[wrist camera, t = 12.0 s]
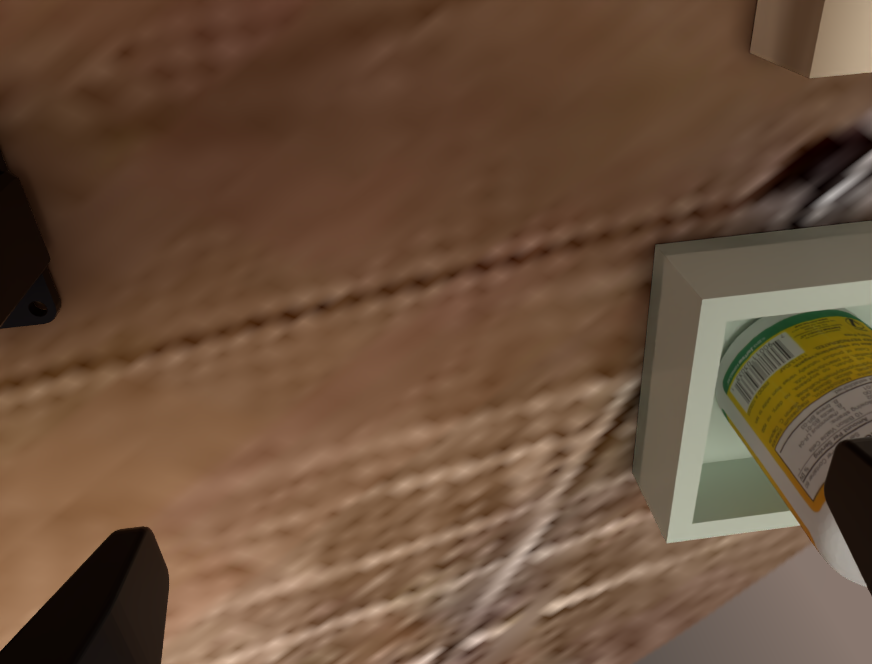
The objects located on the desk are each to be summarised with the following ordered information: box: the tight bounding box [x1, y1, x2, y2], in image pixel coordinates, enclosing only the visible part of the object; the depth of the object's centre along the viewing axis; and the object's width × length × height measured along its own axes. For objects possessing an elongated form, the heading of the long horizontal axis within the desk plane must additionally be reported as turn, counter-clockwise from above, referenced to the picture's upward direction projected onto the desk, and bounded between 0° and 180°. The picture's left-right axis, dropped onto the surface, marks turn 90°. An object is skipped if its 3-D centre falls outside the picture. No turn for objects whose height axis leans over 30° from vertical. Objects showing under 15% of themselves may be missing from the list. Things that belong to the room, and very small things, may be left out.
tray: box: [632, 221, 872, 543], centre depth 24 cm, size 10×10×4 cm
